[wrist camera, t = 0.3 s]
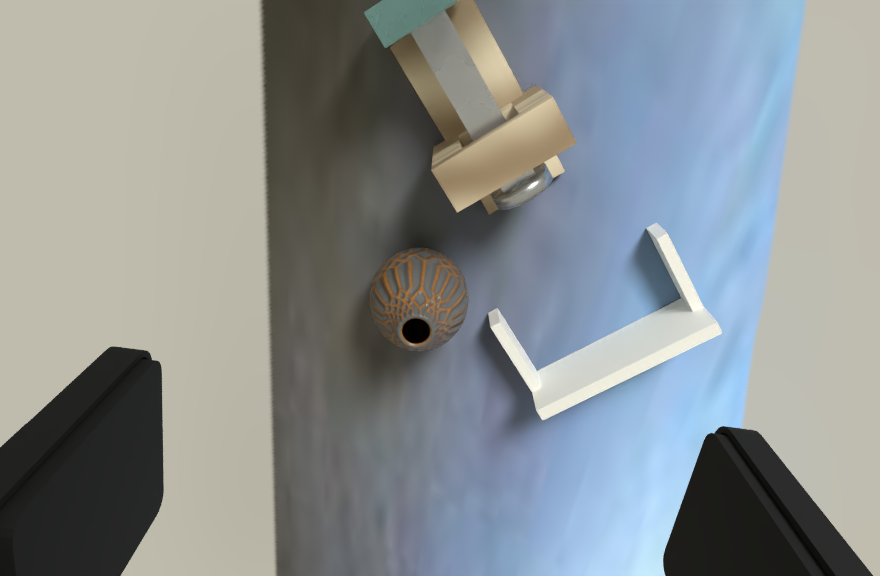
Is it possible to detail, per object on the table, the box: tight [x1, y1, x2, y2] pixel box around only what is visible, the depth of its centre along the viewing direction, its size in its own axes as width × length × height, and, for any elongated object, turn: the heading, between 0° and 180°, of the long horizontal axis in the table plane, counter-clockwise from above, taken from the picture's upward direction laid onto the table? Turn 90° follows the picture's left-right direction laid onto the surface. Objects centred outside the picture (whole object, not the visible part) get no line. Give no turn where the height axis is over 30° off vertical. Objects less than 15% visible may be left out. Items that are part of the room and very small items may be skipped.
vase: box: [370, 248, 468, 351], centre depth 44 cm, size 7×7×9 cm
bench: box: [390, 0, 576, 215], centre depth 40 cm, size 13×8×7 cm, turn 31°
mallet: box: [364, 0, 553, 210], centre depth 38 cm, size 14×5×8 cm, turn 31°
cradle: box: [488, 223, 722, 420], centre depth 46 cm, size 8×14×5 cm, turn 121°
